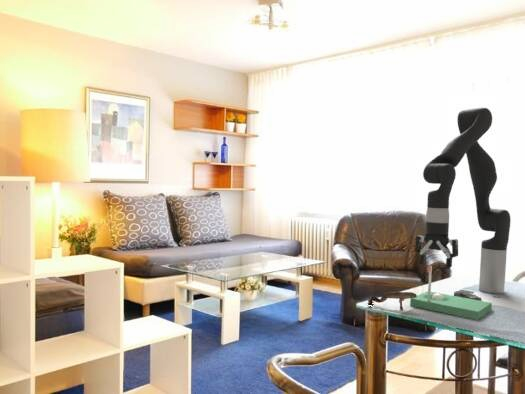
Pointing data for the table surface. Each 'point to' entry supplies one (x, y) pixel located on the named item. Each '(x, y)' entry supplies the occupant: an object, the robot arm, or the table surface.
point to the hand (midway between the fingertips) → (435, 266)
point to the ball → (437, 297)
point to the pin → (429, 269)
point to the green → (453, 305)
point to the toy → (396, 295)
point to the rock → (466, 295)
